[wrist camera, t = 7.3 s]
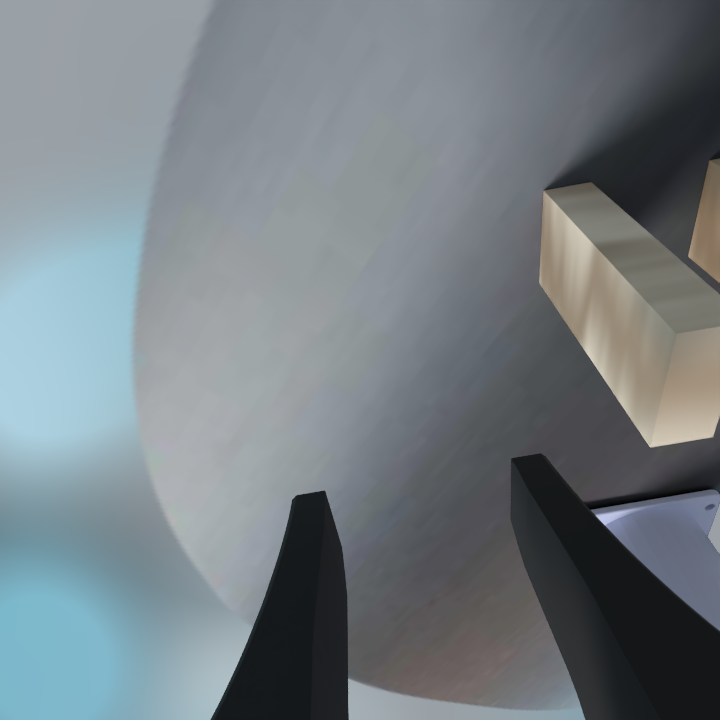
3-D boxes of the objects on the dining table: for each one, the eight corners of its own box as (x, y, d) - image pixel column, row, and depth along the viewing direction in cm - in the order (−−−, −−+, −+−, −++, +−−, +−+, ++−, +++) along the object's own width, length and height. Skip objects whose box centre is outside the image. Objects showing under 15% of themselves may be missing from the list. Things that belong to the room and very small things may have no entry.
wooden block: (581, 275, 21) (712, 436, 15) (539, 282, 21) (650, 447, 15) (590, 182, 19) (750, 321, 12) (543, 190, 19) (676, 333, 12)
